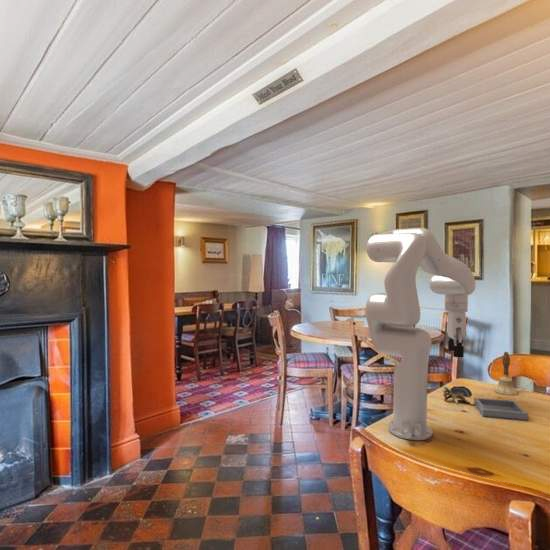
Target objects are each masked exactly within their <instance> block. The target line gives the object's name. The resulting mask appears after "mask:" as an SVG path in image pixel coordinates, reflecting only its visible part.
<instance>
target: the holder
mask: <svg viewBox="0 0 550 550" xmlns="http://www.w3.org/2000/svg"><path fill="white" fill-rule="evenodd" d="M473 405H474V406H475V408H476V409H477V410H478V412H479V413H480V415H481V416H482V417H483V418H490V419H502V420H512V421H522V422H523V421H524V422H528V420H529V418H528V416H529V413H528V412H527V411H526V410H525V409H524V408H523V407H522V406H521V405H520V404H518V403H517V402H516V401H515V400H510V399H509V400H508V399H507V400H506V399H497V398H485V397H484V398H483V397H473Z"/></svg>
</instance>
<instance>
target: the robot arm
mask: <svg viewBox="0 0 550 550" xmlns="http://www.w3.org/2000/svg"><path fill="white" fill-rule="evenodd" d="M365 249H366V250H365V251H366V255H367V256H368V258H369V259H370V260H371V261H373V262H375V263H393V265H392V266H391V267H390V268H389V270H388V271H387V272H386V274H385V277H384V279H383V280H384V281H383V283H384V290H385V291H384V292H376V293H372V294H371V295H370V296H368V298H367V300H366V303H365V318H366V323H367V328H368V331H369V335H370V341H371V344H372V346H373V348H374V350H375V351H376V352H377V353H380V354H381V355H382V354H383V355H388V356H393V357H397V358H401V361H400V362H399V363H398V364H397V366H396V367H395V368H394V372H393V417H392V418H393V420H392V421H390V422H388V424H387V429H388V431H389V432H390V433H391V434H393V435H394V436H396V437H398V438H400V439H405V440H410V441H424V440H428V439H430V438H431V437H432V436H433V429H432V428H431V427H430V426H429V425H428V373H429V372H428V371H429V370H428V369H429V359H430V355H431V350H432V336H431V335H430V333H429V332H428V331H426V330H425V329H423V328H420V327H414V326H416V325H418V323H420V321H421V306H420V303H419V301H420V300H419V295H418V290H417V284H416V281H417V280H416V276H417V272H418V271H419V267H420V269H421V270H422V271H423V272H425V273H427V274H430V275H432V276H431V277H430V279H429V283H428V284H429V288H430V290H431V291H432V292H433V293H435V294H437V295H444V311H445V312H447V319H446V320H447V324H446V325H447V328H446V329H447V335H448V340H447V341H448V342H447V350H448V352H453V353H452V354H453V355H452V357H454V358H464V347H465V346H464V341H466V340H467V337H468V336H467V331H468V330H467V316H466V313H467V312H468V303H469V302H468V301H469V298H468V297H469V296H470V295H472V294H473V293H474V291H475V290H476V279H475V276H474V274H473V272H472V270H471V269H470V267H469V266H468V265H467V264H466V263H465V262H463V261H461V260H459V259H457V258H455V257H453V256H451V255H449V254H447V253H445V251H444V250H443V249H442V247H441V245H440V244H439V241H438V240H437V238H436V237H435V235H434V234H433V232H432V231H431V230H429V229H428V228H425V227H411V228H399V229H393V230H392V229H391V230H389V231H388V230H387V231H385V232H379V233H375V234H373V235H371V236H370V238H369V239H368V240H367V243H366V248H365Z"/></svg>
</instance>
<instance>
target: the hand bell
mask: <svg viewBox="0 0 550 550" xmlns="http://www.w3.org/2000/svg"><path fill="white" fill-rule="evenodd" d="M501 360H502V366H503V375H502V376H499V380H498V384H497V386H496V387H494V388H493V391H494V393H497V394H499V395H505V396H510V397H511V396H517V395H519V392H518V391H517V390H516V389H515V386H514V383H513V382H514V381H513V379H512V378H511V377H509V367H510V365H511V358H510V355H509V352H508V351H504V352H503V355H502V359H501Z"/></svg>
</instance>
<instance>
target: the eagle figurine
mask: <svg viewBox="0 0 550 550" xmlns="http://www.w3.org/2000/svg"><path fill="white" fill-rule="evenodd" d="M443 389H444V390H443ZM443 389H442V392H443V393H442V396H443V397H444V402H446V401H447V400H448V399H452V400H453V401H454V402H455V404H456V405H459V401H458V399H459V400H461V401H462V402H463V401H464V402H465V403H466V404H469V405H471V402H470V401H468V400H467V399H466V398H471V397H472V395H473V393H472V391H471V390H470V389H469V388H468V387H466V386H463V385H461V386H460V385H459V386H458V385H456V386H452V387H451V388H450V389H449V388H448V387H447V386H443Z"/></svg>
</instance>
